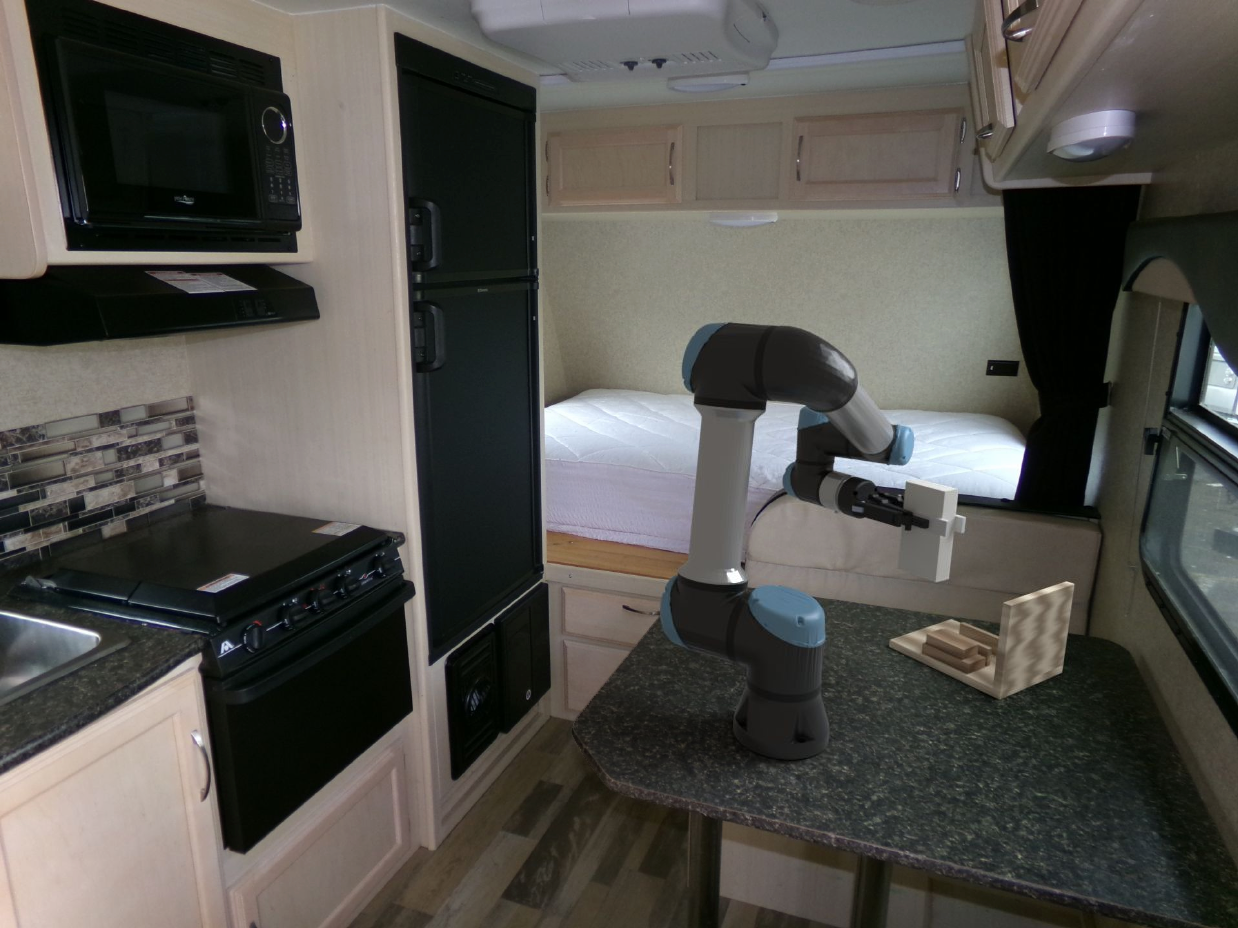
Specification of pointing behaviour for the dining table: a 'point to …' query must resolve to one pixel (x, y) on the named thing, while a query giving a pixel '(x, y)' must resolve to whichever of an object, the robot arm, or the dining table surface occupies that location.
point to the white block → (924, 548)
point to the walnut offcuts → (953, 651)
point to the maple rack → (1008, 643)
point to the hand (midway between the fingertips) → (955, 527)
